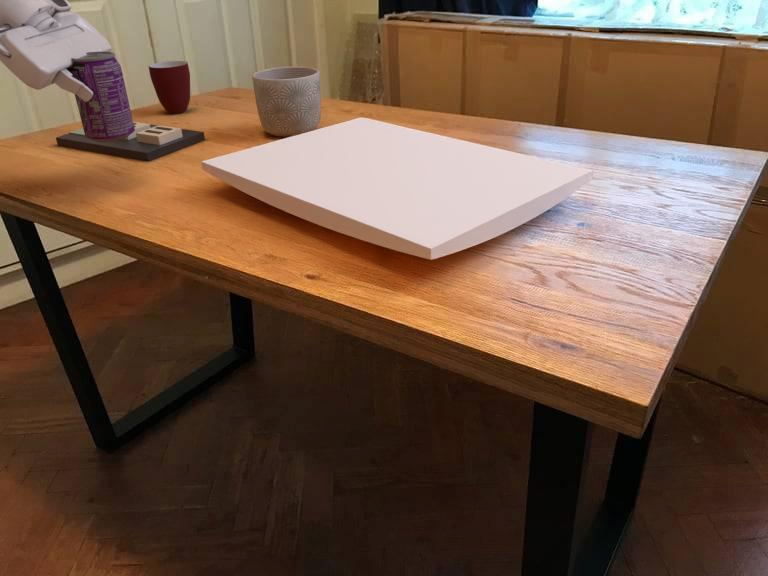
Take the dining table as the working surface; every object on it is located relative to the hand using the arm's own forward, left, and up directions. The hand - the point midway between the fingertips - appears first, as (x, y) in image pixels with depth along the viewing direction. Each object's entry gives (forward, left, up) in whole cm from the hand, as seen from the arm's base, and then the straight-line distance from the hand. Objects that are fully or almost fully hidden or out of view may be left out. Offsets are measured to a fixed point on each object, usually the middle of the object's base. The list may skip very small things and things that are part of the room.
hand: (105, 90), depth 97 cm
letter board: (-17, +16, -14) cm, 28 cm away
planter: (+7, +34, -14) cm, 38 cm away
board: (+41, +11, -14) cm, 45 cm away
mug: (-27, +38, -14) cm, 49 cm away
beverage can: (-1, 0, -7) cm, 7 cm away
